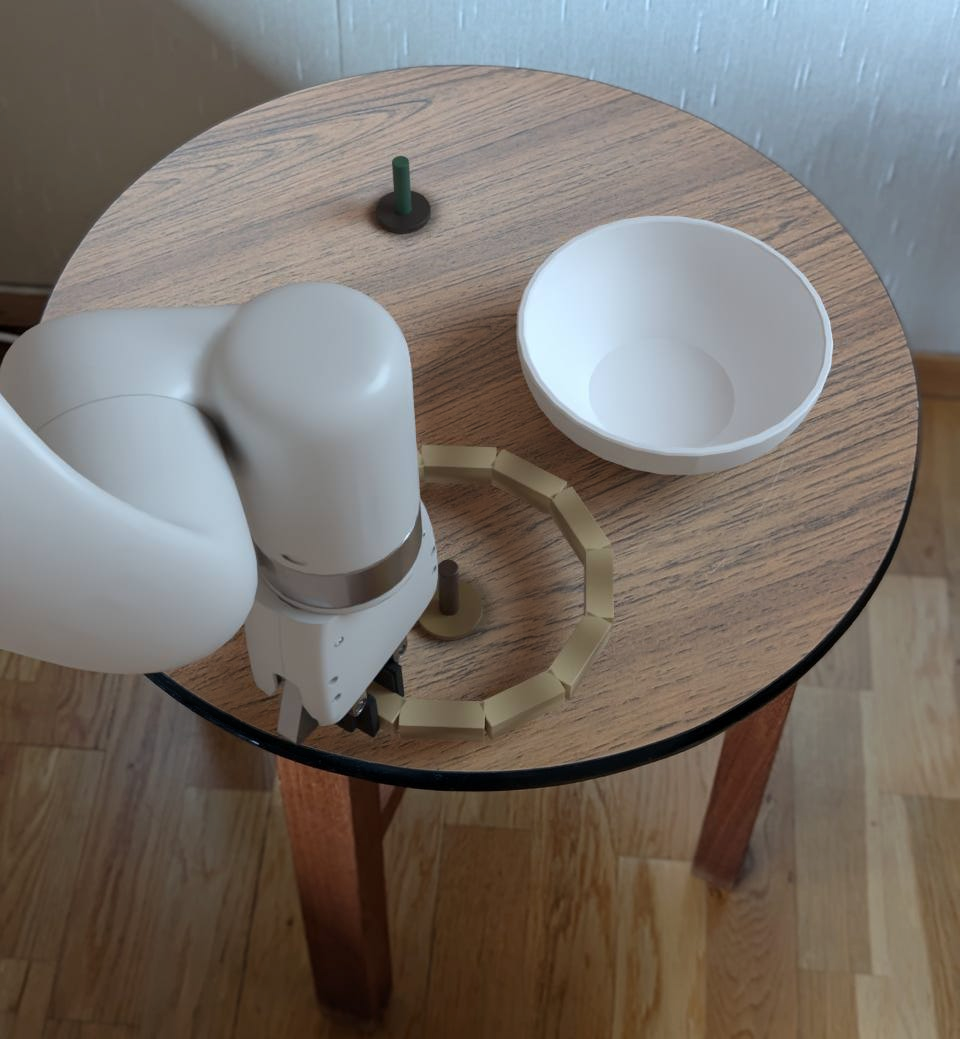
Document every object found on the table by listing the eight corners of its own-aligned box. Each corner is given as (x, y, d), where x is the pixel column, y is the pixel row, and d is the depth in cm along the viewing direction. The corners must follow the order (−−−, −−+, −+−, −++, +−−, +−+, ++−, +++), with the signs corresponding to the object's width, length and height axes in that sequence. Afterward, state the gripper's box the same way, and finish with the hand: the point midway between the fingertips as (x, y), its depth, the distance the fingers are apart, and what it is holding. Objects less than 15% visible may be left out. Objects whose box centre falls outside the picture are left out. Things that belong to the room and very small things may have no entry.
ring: (502, 802, 71) (502, 789, 69) (226, 636, 76) (220, 621, 75) (667, 550, 79) (671, 534, 78) (408, 417, 85) (407, 399, 83)
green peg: (410, 241, 96) (408, 189, 92) (365, 219, 97) (360, 167, 93) (441, 208, 98) (440, 155, 94) (396, 187, 99) (393, 134, 95)
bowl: (777, 282, 94) (798, 206, 88) (838, 512, 84) (866, 445, 78) (501, 296, 93) (503, 221, 87) (527, 531, 83) (531, 464, 77)
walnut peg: (459, 652, 78) (458, 610, 74) (402, 619, 79) (398, 577, 75) (495, 602, 80) (496, 558, 76) (439, 571, 81) (438, 526, 77)
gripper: (369, 370, 63) (390, 570, 79) (153, 616, 56) (224, 783, 71) (503, 439, 61) (498, 630, 76) (297, 704, 54) (338, 856, 69)
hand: (366, 703), depth 74 cm, fingers closed on ring, 1 cm apart
